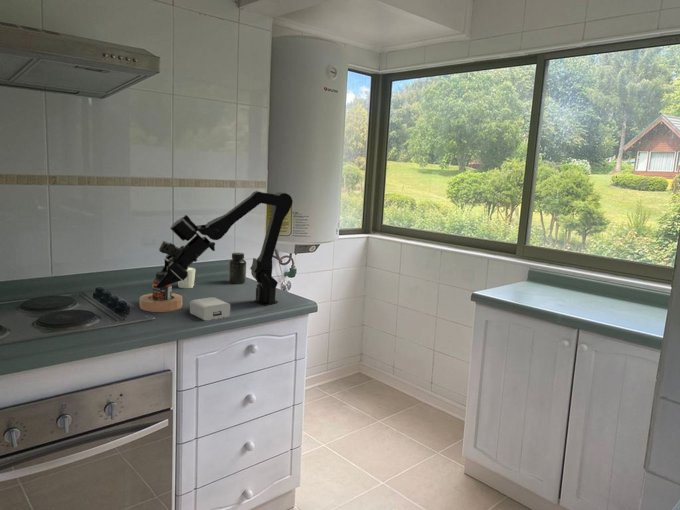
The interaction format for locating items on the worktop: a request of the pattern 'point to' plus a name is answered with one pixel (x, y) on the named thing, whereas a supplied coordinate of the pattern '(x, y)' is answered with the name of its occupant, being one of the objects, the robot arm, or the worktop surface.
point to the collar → (160, 303)
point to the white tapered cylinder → (188, 279)
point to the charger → (209, 308)
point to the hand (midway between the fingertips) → (156, 283)
